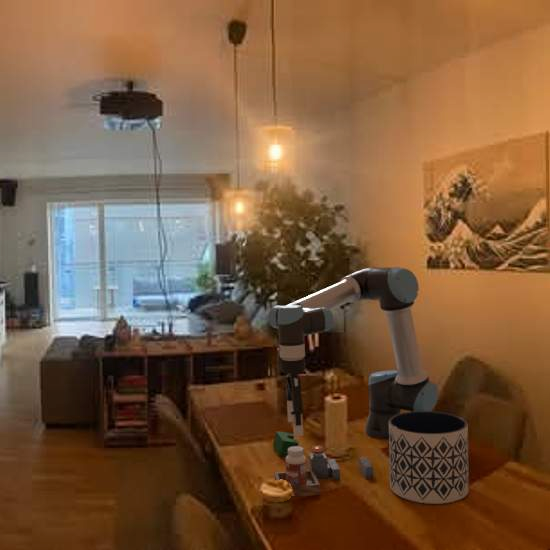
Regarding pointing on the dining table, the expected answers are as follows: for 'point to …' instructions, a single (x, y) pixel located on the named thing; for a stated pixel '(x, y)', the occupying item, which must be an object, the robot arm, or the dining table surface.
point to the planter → (428, 457)
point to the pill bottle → (296, 466)
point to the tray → (305, 489)
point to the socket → (335, 467)
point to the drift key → (317, 451)
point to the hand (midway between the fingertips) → (295, 428)
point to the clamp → (283, 442)
